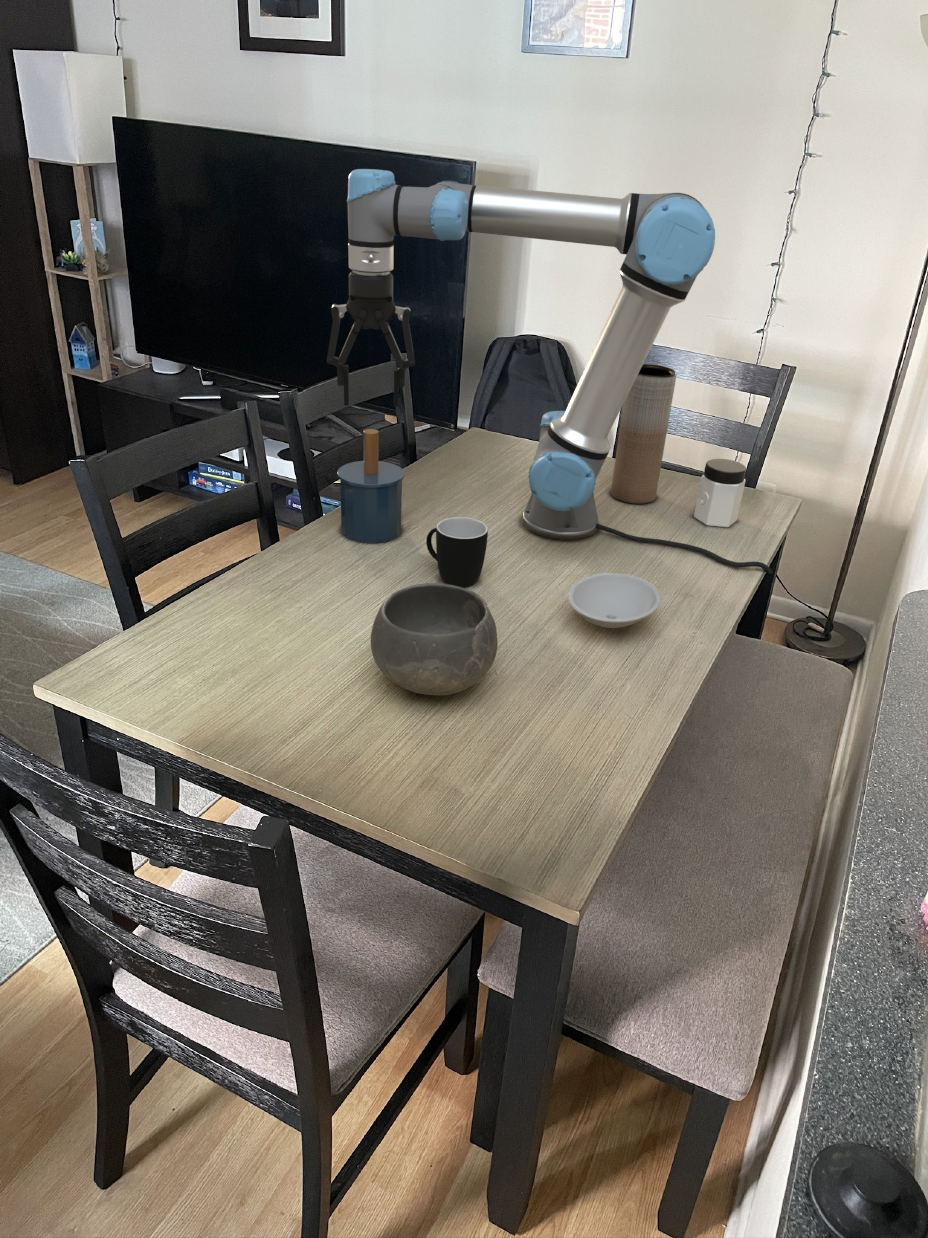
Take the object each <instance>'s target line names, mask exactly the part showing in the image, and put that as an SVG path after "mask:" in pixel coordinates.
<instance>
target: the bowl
mask: <svg viewBox="0 0 928 1238" xmlns="http://www.w3.org/2000/svg"><path fill="white" fill-rule="evenodd" d="M498 644H499V641H498V633H497V625H496V621H495V619H494V616H493V615H492V613H491V611H490V609H489V606H488V604H487V602H486V600H485V599H484V598H483V597H481V596H480V595H479V594H478V593H476V592H475V591H472V590H470V589H467V588H466V587H459V586H454V585H449V584H446V583H440V582H438V583H437V582H435V583H434V582H426V583H419V584H414V585H408V586H406V587H403V588H401V589H398V590H397V591H395V592H393V593H392V594H390V595H389V596H388V597H387V598H386V599H385V600H384V601H383V603H382V604H381V605H380V607H379V609H378V611H377V613H376V616H375V617H374V620H373V624H372V627H371V632H370V649H371V654H372V658H373V660H374V663H375V664H376V666H377V668H378V669H379V671H380V672H381V674H382V675H384V677H386V678H387V680H389V681H390V682H391V683H393V684H394V685H396V686H397V687H400V688H402V689H404V690H407V691H410V692H413V693H416V694H421V695H427V696H449V695H454V694H457V693H460V692H462V691H465V690H467V689H469V688H471V687H473V686H474V685H476V684H477V683H479V682H480V681H481V680H482V679H483V678H484V677H485V676H486V675H487V674H488V672H489V671H490V669H491V668H492V666H493V664H494V662H495V659H496V656H497V652H498V646H499V645H498Z"/></svg>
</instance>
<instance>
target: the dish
mask: <svg viewBox="0 0 928 1238" xmlns="http://www.w3.org/2000/svg"><path fill="white" fill-rule="evenodd" d="M567 595H568V596H567V599H568V602H569V605H570V607H571V608H572V609H573V610H574V611H576V612H577V613H578V614H579V615H580V616H581V617H582V618H584V620H586V621H588V622H589V623H591V624H592V625H596V626H598V627H601V628H606V629H607V628H608V629H620V628H625V627H629V626H632V625H634V624H637V623H638V622H640V621H642V620H644V619H645V618H647V617H649V616H651V615H652V614H653V613H655V612H656V611H657V610H658V608H659V606H660V604H661V594H660V591H659V589H658V588H657V587H656V586H654V584H652V583H651V582H650V581H648V580H646V579H644V578H641V577H639V576H635V575H632V574H629V573H628V574H627V573H621V572H620V573H619V572H603V573H597V574H592V575H588V576H586V577H583V578H581V579H580V580H578V581H577V582H575V583H574V584H573V585H572V586H571V587H570V589H569V591H568V594H567Z"/></svg>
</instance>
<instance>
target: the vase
mask: <svg viewBox="0 0 928 1238" xmlns="http://www.w3.org/2000/svg"><path fill="white" fill-rule="evenodd" d="M677 375H678V374H677V372H676V370H675V369H673V368H670V367H668V366H664V365H659V364H652V363H651V364H649V363H643V365H642V367H641V369H640V371H639V373H638V375H637V377H636V379H635V381H634V383H633V385H632V387H631V389H630V391H629V393H628V395H627V397H626V399H625V401H624V404H623V406H622V408H621V409H622V410H621V417H620V424H619V429H618V430H619V432H618V436H617V437H618V438H617V439H618V440H617V445H616V453H615V459H614V465H613V471H612V472H613V473H612V479H611V487H610V495H611V496H612V497H613V498H614V499H616V500H618V501H620V502H623V503H628V504H633V505H644V504H645V505H646V504H651V503H652V502H654V501H655V500H656V497H657V491H658V485H659V481H660V474H661V469H662V464H663V463H662V462H663V457H664V453H665V452H664V451H665V446H666V445H665V444H666V439H667V433H668V428H669V421H670V416H671V410H672V405H673V400H674V399H673V398H674V393H675V388H676V387H675V386H676V380H677Z"/></svg>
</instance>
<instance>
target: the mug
mask: <svg viewBox="0 0 928 1238" xmlns="http://www.w3.org/2000/svg"><path fill="white" fill-rule="evenodd" d="M434 534H435V548H436V549H434V547H433V543H432V538H433V535H434ZM488 537H489V528H488V526H487V525H486V523H484V522H483V521H481V520H479V519H476V518H471V517H464V516H455V517H448V518H445V519H442V520H440V521H439V522H438V523H437V524H436V527H434V528H432V529H430V531H429V532H428V534H427V535H426V540H425V542H426V544H425V545H426V549H427V551H428V553H429V554H430V557H432V558H433V560H435V561H436V562H437V568H438V573H439V577H440V579H441V580H442V582H443V583H444V584H449V585H454V586H459V587H462V588H468V587H471V586H473V585H475V584H476V583H477V582H478V581H479V578H480V577H481V574H482V571H483V567H484V563H485V558H486V551H487V545H488Z"/></svg>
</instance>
